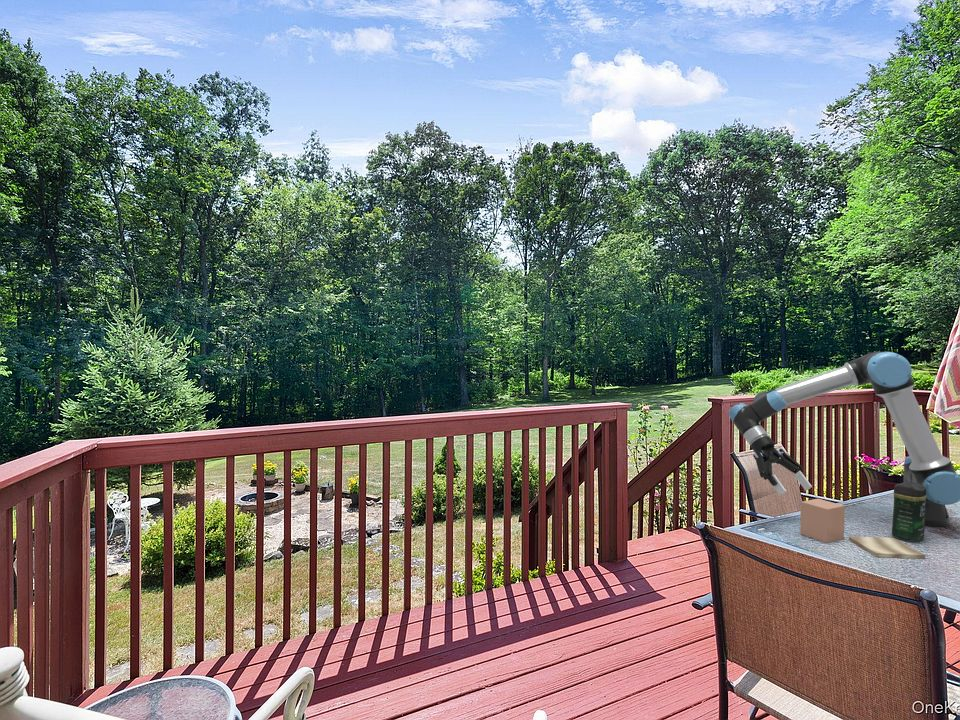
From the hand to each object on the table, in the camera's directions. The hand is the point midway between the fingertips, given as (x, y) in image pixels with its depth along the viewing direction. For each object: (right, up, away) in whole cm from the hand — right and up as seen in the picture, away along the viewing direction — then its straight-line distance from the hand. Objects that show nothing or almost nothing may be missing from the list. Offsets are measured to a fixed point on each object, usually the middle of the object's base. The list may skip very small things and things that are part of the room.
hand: (796, 491), depth 191 cm
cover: (+4, -13, -7) cm, 16 cm away
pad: (+17, -14, -19) cm, 29 cm away
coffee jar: (+32, -14, -9) cm, 36 cm away
